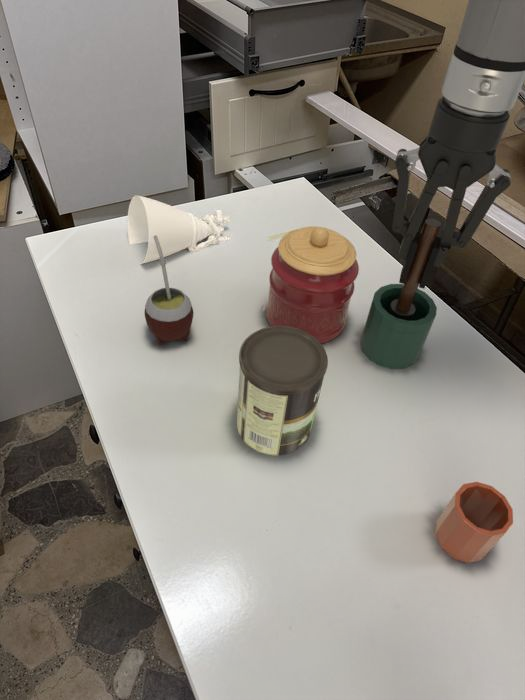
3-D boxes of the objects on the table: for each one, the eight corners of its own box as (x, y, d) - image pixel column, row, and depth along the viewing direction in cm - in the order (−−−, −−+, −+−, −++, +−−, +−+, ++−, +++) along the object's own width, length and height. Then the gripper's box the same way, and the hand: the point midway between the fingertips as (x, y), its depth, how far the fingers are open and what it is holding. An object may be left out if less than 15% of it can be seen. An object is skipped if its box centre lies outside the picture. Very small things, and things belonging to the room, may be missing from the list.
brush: (405, 331, 81) (448, 218, 66) (403, 347, 78) (446, 233, 64) (382, 325, 81) (419, 212, 67) (379, 341, 79) (417, 226, 64)
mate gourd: (177, 360, 78) (172, 281, 67) (133, 341, 80) (121, 261, 69) (204, 331, 82) (202, 252, 72) (162, 313, 85) (155, 234, 74)
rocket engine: (238, 188, 95) (142, 184, 86) (249, 250, 94) (153, 253, 85) (212, 210, 105) (123, 209, 96) (222, 267, 104) (133, 271, 95)
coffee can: (308, 398, 74) (323, 326, 64) (314, 461, 67) (332, 391, 57) (235, 396, 74) (239, 323, 64) (234, 459, 67) (238, 388, 57)
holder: (484, 524, 63) (512, 491, 57) (484, 572, 59) (514, 542, 53) (434, 509, 64) (456, 475, 58) (430, 556, 60) (454, 524, 54)
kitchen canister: (341, 298, 90) (362, 207, 78) (347, 352, 81) (372, 260, 69) (266, 292, 90) (275, 200, 77) (264, 346, 81) (273, 252, 68)
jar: (419, 340, 84) (438, 292, 77) (413, 379, 78) (434, 332, 71) (364, 326, 86) (378, 277, 79) (354, 364, 80) (369, 315, 73)
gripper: (400, 102, 54) (354, 282, 70) (552, 131, 51) (467, 310, 68) (407, 78, 59) (363, 252, 76) (546, 104, 56) (468, 277, 73)
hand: (412, 279), depth 72 cm, fingers closed on brush, 2 cm apart
